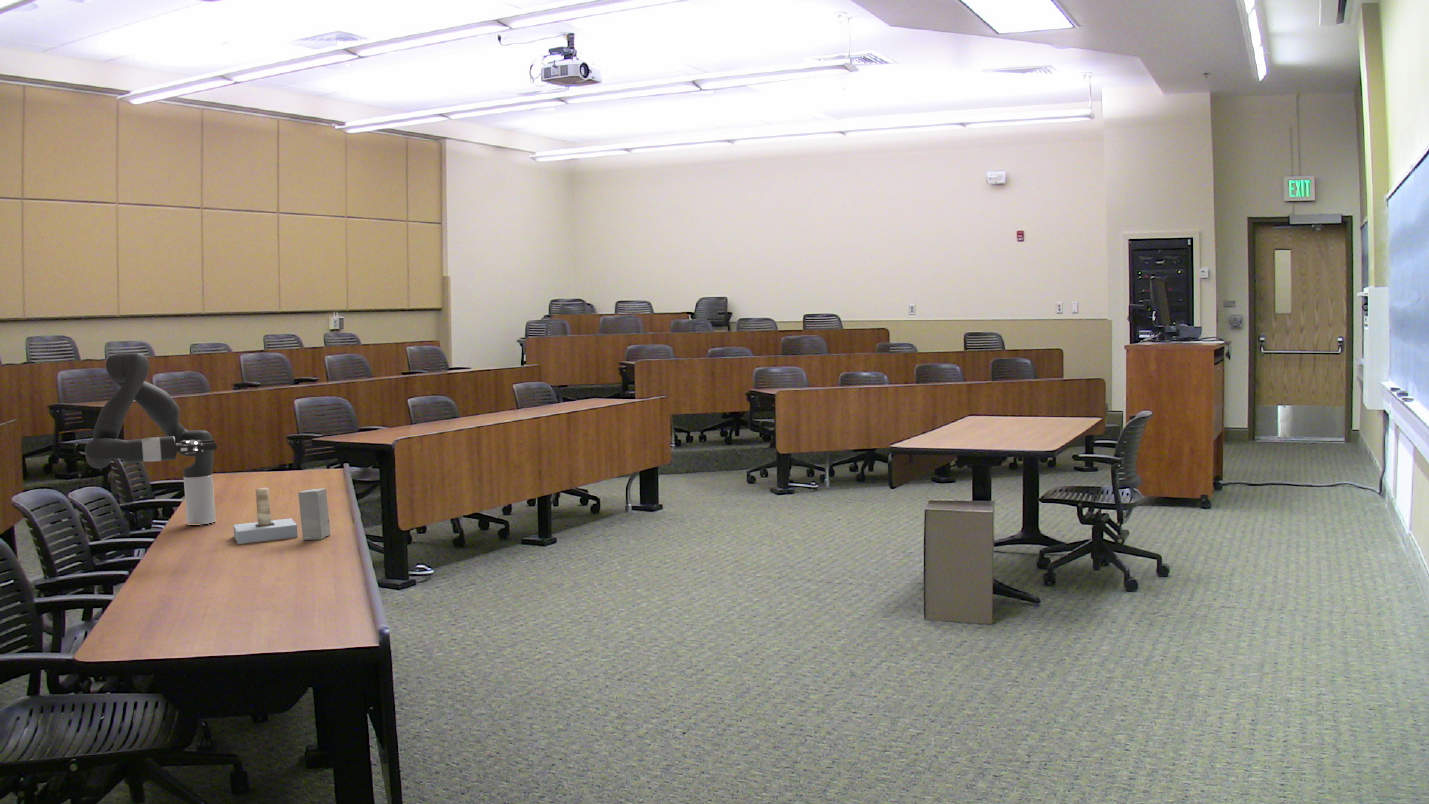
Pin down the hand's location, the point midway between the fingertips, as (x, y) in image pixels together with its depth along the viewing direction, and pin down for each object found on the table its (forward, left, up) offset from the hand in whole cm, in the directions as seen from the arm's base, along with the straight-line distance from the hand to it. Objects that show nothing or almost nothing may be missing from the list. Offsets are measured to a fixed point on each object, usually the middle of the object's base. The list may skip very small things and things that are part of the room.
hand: (215, 444), depth 346 cm
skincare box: (+12, +27, -32) cm, 44 cm away
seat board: (0, +13, -32) cm, 34 cm away
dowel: (0, +13, -32) cm, 34 cm away
